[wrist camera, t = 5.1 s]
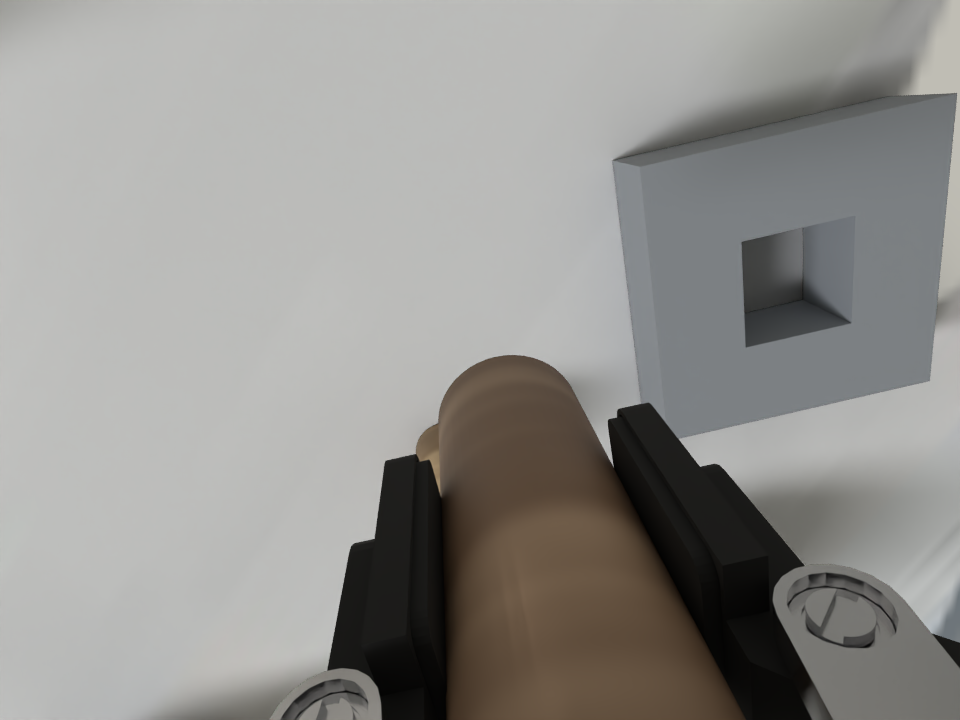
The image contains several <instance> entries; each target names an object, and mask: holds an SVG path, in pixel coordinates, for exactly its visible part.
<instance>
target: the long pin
mask: <svg viewBox="0 0 960 720" xmlns="http://www.w3.org/2000/svg"><path fill="white" fill-rule="evenodd" d="M438 423H439V461H440V496H441V504H442V539H443V574H444V610H445V645H446V680H447V692H446V720H746V718H745V716H744V715H743V713H742V711H741V709H740V707H739V705H738V703H737V701H736V699H735V697H734V696H733V694H732V692H731V690H730V688H729V686H728V684H727V682H726V680H725V678H724V677H723V675H722V673H721V671H720V669H719V667H718V665H717V663H716V661H715V659H714V658H713V656H712V654H711V652H710V650H709V648H708V646H707V644H706V642H705V640H704V639H703V637H702V635H701V633H700V631H699V629H698V627H697V625H696V623H695V621H694V620H693V618H692V616H691V614H690V612H689V610H688V608H687V606H686V604H685V602H684V601H683V599H682V597H681V595H680V593H679V591H678V589H677V587H676V585H675V583H674V582H673V580H672V578H671V576H670V574H669V572H668V570H667V568H666V566H665V564H664V563H663V561H662V559H661V557H660V555H659V553H658V551H657V549H656V547H655V545H654V544H653V542H652V540H651V538H650V536H649V534H648V532H647V530H646V528H645V526H644V524H643V523H642V521H641V519H640V517H639V515H638V513H637V511H636V509H635V507H634V505H633V504H632V502H631V500H630V498H629V496H628V494H627V492H626V490H625V488H624V486H623V485H622V483H621V481H620V479H619V477H618V475H617V473H616V471H615V469H614V467H613V466H612V464H611V462H610V460H609V458H608V456H607V454H606V452H605V450H604V448H603V447H602V445H601V443H600V441H599V439H598V437H597V435H596V433H595V431H594V429H593V428H592V426H591V424H590V422H589V420H588V418H587V416H586V414H585V412H584V410H583V409H582V407H581V405H580V403H579V401H578V399H577V397H576V395H575V393H574V391H573V390H572V388H571V386H570V385H569V383H568V381H567V380H566V379H565V378H564V377H563V375H561V374H560V373H559V372H558V371H557V370H556V369H554V368H553V367H552V366H550V365H548V364H546V363H544V362H543V361H540V360H537V359H534V358H531V357H526V356H518V355H505V356H499V357H494V358H490V359H487V360H484V361H482V362H479V363H477V364H475V365H474V366H472V367H470V368H468V369H467V370H466V371H465V372H463V373H462V374H461V375H460V376H459V377H458V378H457V379H456V380H455V381H454V382H453V383H452V385H451V386H450V387H449V389H448V390H447V392H446V394H445V396H444V398H443V400H442V403H441V407H440V411H439V419H438Z"/></svg>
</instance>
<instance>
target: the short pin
mask: <svg viewBox="0 0 960 720" xmlns="http://www.w3.org/2000/svg"><path fill="white" fill-rule="evenodd" d="M416 455H417V456H418V458H419V461H424V460H430V462H431V464H432V467H433V471H434V474H435V478H436V482H437V485H438V489H439V492H440V461H439V424H436V425H434V426H432V427H430V428H428V429H427V430H426V431H425V432H424V433H423V434H422V435H421V436H420V438H419V440H418V442H417V446H416Z"/></svg>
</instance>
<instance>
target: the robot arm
mask: <svg viewBox="0 0 960 720" xmlns="http://www.w3.org/2000/svg"><path fill="white" fill-rule="evenodd" d="M608 429H609V437H610V444H611V451H612V458H613V465H614V469H615V471H616V473H617V475H618V477H619V479H620V481H621V483H622V485H623V486H624V488H625V490H626V492H627V494H628V496H629V498H630V500H631V502H632V504H633V505H634V507H635V509H636V511H637V513H638V515H639V517H640V519H641V521H642V523H643V524H644V526H645V528H646V530H647V532H648V534H649V536H650V538H651V540H652V542H653V544H654V545H655V547H656V549H657V551H658V553H659V555H660V557H661V559H662V561H663V563H664V564H665V566H666V568H667V570H668V572H669V574H670V576H671V578H672V580H673V582H674V583H675V585H676V587H677V589H678V591H679V593H680V595H681V597H682V599H683V601H684V602H685V604H686V606H687V608H688V610H689V612H690V614H691V616H692V618H693V620H694V621H695V623H696V625H697V627H698V629H699V631H700V633H701V635H702V637H703V639H704V640H705V642H706V644H707V646H708V648H709V650H710V652H711V654H712V656H713V658H714V659H715V661H716V663H717V665H718V667H719V669H720V671H721V673H722V675H723V677H724V678H725V680H726V682H727V684H728V686H729V688H730V690H731V692H732V694H733V696H734V697H735V699H736V701H737V703H738V705H739V707H740V709H741V711H742V713H743V715H744V716H745V718H746V720H960V643H959V642H955V641H952V640H950V639H947V638H944V637H941V636H938V635H935V634H932V633H931V632H930V631H929V630H928V628H927V627H926V626H925V625H924V624H923V622H922V621H921V620H920V619H919V617H918V616H917V615H916V614H915V612H914V611H913V610H912V609H911V607H910V606H909V605H908V604H907V603H906V601H905V600H904V599H903V598H902V597H901V596H900V595H899V594H898V593H897V592H895V591H894V590H893V589H892V588H891V587H890V586H889V585H887V584H885V583H884V582H882V581H880V580H879V579H877V578H875V577H874V576H872V575H870V574H867V573H864V572H862V571H859V570H856V569H853V568H850V567H845V566H839V565H833V564H811V565H807V566H804V565H803V563H802V562H801V561H800V560H799V559H798V557H797V556H796V555H795V554H794V553H793V551H792V550H791V549H790V548H789V547H788V545H787V544H786V543H785V542H784V541H783V539H782V538H781V537H780V536H779V535H778V533H777V532H776V531H775V530H774V529H773V527H772V526H771V525H770V524H769V523H768V521H767V520H766V519H765V518H764V517H763V516H762V514H761V513H760V512H759V511H758V510H757V508H756V507H755V506H754V505H753V504H752V502H751V501H750V500H749V499H748V498H747V496H746V495H745V494H744V493H743V492H742V490H741V489H740V488H739V487H738V486H737V484H736V483H735V482H734V481H733V480H732V478H731V477H730V476H729V475H728V474H727V472H726V471H725V470H724V469H723V468H722V467H721V466H720V465H717V464H711V465H707V466H702V467H700V466H699V465H698V464H697V462H696V461H695V460H694V459H693V457H692V456H691V455H690V453H689V452H688V451H687V450H686V448H685V447H684V446H683V444H682V443H681V442H680V441H679V439H678V438H677V437H676V435H675V434H674V433H673V431H672V430H671V429H670V428H669V426H668V425H667V424H666V422H665V421H664V420H663V419H662V417H661V416H660V415H659V413H658V412H657V411H656V409H655V408H654V407H653V406H652V404H650V403H643V404H639V405H634V406H630V407H625V408H621V409H618V411H617V418H613V419H609V420H608ZM446 692H447V680H446V645H445V610H444V574H443V539H442V504H441V496H440V492H439V489H438V485H437V482H436V478H435V474H434V471H433V467H432V464H431V462H430V460H424V461H419V458H418V456H417V455H416V454H414V455H409V456H405V457H400V458H396V459H391V460H387V461H385V466H384V473H383V481H382V488H381V496H380V503H379V511H378V518H377V526H376V533H375V539H372V540H368V541H363V542H359V543H354V544H353V545H352V546H351V549H350V552H349V557H348V562H347V568H346V573H345V578H344V584H343V589H342V595H341V600H340V605H339V611H338V616H337V621H336V627H335V632H334V637H333V643H332V648H331V653H330V659H329V664H328V669H327V671H324V672H322V673H320V674H318V675H315V676H313V677H311V678H309V679H307V680H306V681H304V682H303V683H302V684H300V685H299V686H297V687H296V688H295V689H293V690H292V691H291V692H290V693H289V694H288V695H287V696H286V697H285V698H284V699H283V700H282V702H281V703H280V704H279V705H278V706H277V708H276V709H275V711H274V713H273V714H272V716H271V718H270V719H269V720H446Z"/></svg>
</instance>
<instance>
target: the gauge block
mask: <svg viewBox="0 0 960 720" xmlns="http://www.w3.org/2000/svg"><path fill="white" fill-rule="evenodd" d="M956 100H957V93H952V94H930V95H908V96H888V97H884V98H880V99H875V100H871V101H867V102H863V103H858V104H854V105H850V106H845V107H841V108H837V109H832V110H828V111H824V112H819V113H815V114H811V115H807V116H802V117H798V118H794V119H789V120H785V121H781V122H776V123H772V124H768V125H764V126H759V127H755V128H751V129H746V130H742V131H738V132H733V133H729V134H725V135H720V136H716V137H712V138H708V139H703V140H699V141H695V142H690V143H686V144H682V145H677V146H673V147H669V148H664V149H660V150H656V151H652V152H647V153H643V154H639V155H634V156H630V157H626V158H621V159H617V160H613V169H614V178H615V186H616V194H617V203H618V211H619V220H620V228H621V236H622V245H623V253H624V261H625V270H626V278H627V287H628V295H629V303H630V312H631V320H632V329H633V337H634V345H635V354H636V362H637V370H638V379H639V387H640V396H641V404H643V403H650V404H652V406H653V407H654V408H655V409H656V411H657V412H658V413H659V415H660V416H661V417H662V419H663V420H664V421H665V422H666V424H667V425H668V426H669V428H670V429H671V430H672V431H673V433H674V434H675V435H676V437H677V438H678V439H680V438H684V437H688V436H693V435H697V434H701V433H706V432H710V431H714V430H719V429H723V428H727V427H732V426H736V425H740V424H745V423H749V422H753V421H758V420H762V419H767V418H771V417H775V416H780V415H784V414H788V413H793V412H797V411H801V410H806V409H810V408H814V407H819V406H823V405H827V404H832V403H836V402H840V401H845V400H849V399H853V398H858V397H862V396H866V395H871V394H875V393H879V392H884V391H888V390H893V389H897V388H901V387H906V386H910V385H914V384H919V383H923V382H927V381H930V373H931V362H932V352H933V341H934V331H935V320H936V310H937V299H938V289H939V278H940V266H941V257H942V247H943V236H944V225H945V215H946V204H947V194H948V184H949V173H950V163H951V153H952V141H953V132H954V121H955V110H956ZM799 228H803V300H800V301H796V302H792V303H787V304H783V305H779V306H774V307H770V308H766V309H761V310H757V311H753V312H748V313H744V295H743V269H742V244H741V242H743V241H747V240H752V239H756V238H760V237H765V236H769V235H773V234H778V233H782V232H786V231H791V230H795V229H799Z"/></svg>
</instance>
